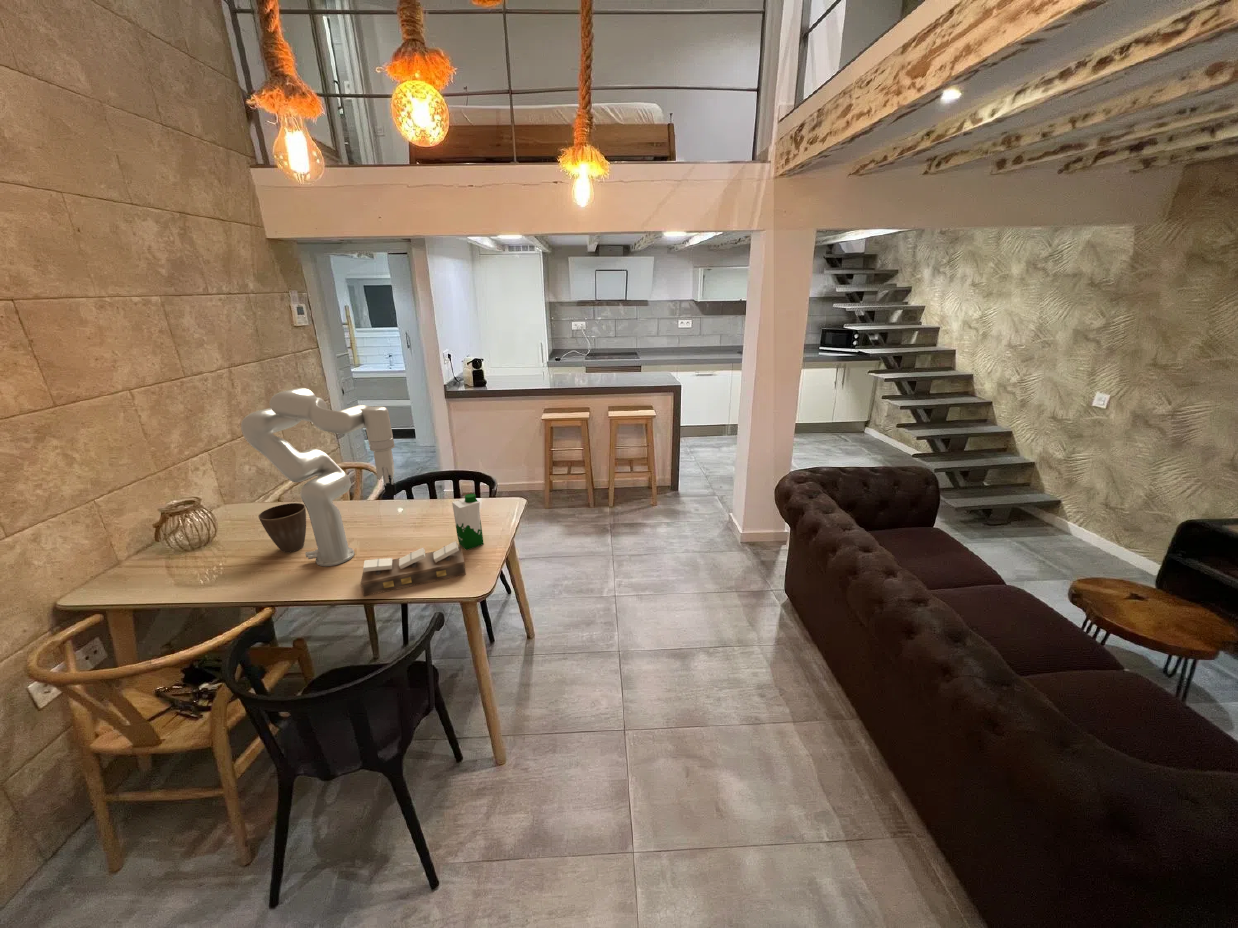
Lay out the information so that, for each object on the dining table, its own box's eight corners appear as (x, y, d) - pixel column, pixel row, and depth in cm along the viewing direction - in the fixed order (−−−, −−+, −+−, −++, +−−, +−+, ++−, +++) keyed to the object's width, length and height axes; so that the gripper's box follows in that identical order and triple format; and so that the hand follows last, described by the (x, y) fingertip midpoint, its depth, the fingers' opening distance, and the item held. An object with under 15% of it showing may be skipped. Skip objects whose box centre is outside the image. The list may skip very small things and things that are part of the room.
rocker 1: (363, 571, 157) (363, 567, 157) (364, 563, 162) (364, 559, 161) (391, 569, 161) (391, 564, 160) (392, 561, 165) (392, 557, 165)
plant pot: (292, 559, 180) (282, 520, 175) (259, 556, 183) (248, 517, 178) (323, 540, 194) (314, 504, 189) (292, 537, 197) (282, 501, 192)
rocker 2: (401, 569, 162) (398, 565, 161) (401, 561, 166) (399, 558, 166) (425, 557, 164) (422, 553, 163) (424, 550, 168) (422, 546, 168)
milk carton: (486, 544, 188) (481, 497, 181) (464, 552, 182) (457, 503, 176) (477, 536, 194) (471, 490, 188) (455, 544, 189) (448, 496, 182)
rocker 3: (435, 562, 166) (433, 559, 165) (435, 555, 170) (433, 552, 170) (458, 550, 167) (456, 546, 167) (457, 543, 172) (455, 540, 171)
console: (363, 596, 156) (359, 580, 154) (366, 577, 167) (363, 562, 165) (466, 574, 167) (463, 559, 165) (462, 558, 178) (460, 543, 176)
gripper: (371, 439, 166) (380, 489, 172) (367, 451, 153) (378, 504, 159) (394, 437, 169) (403, 485, 174) (393, 448, 155) (402, 500, 161)
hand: (391, 494), depth 167 cm, fingers closed
